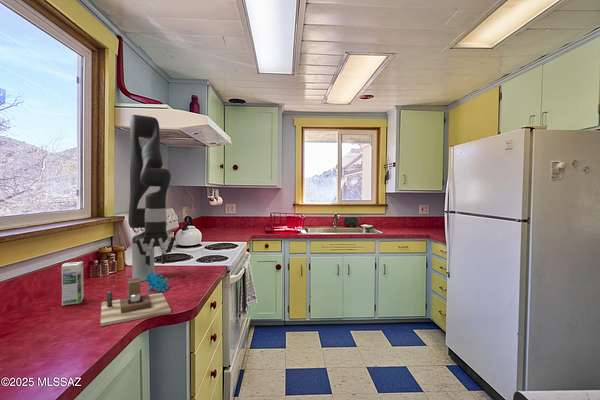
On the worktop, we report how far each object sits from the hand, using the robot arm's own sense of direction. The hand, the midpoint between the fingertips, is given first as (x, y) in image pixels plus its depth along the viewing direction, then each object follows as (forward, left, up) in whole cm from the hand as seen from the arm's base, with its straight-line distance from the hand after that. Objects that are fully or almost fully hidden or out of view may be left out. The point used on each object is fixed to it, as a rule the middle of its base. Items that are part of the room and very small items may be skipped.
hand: (155, 264), depth 115 cm
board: (+8, -8, -13) cm, 17 cm away
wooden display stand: (+5, -7, -12) cm, 15 cm away
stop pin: (+3, -15, -13) cm, 20 cm away
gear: (-9, +2, -14) cm, 17 cm away
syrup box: (-11, -27, -14) cm, 32 cm away
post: (+8, -8, -13) cm, 17 cm away
